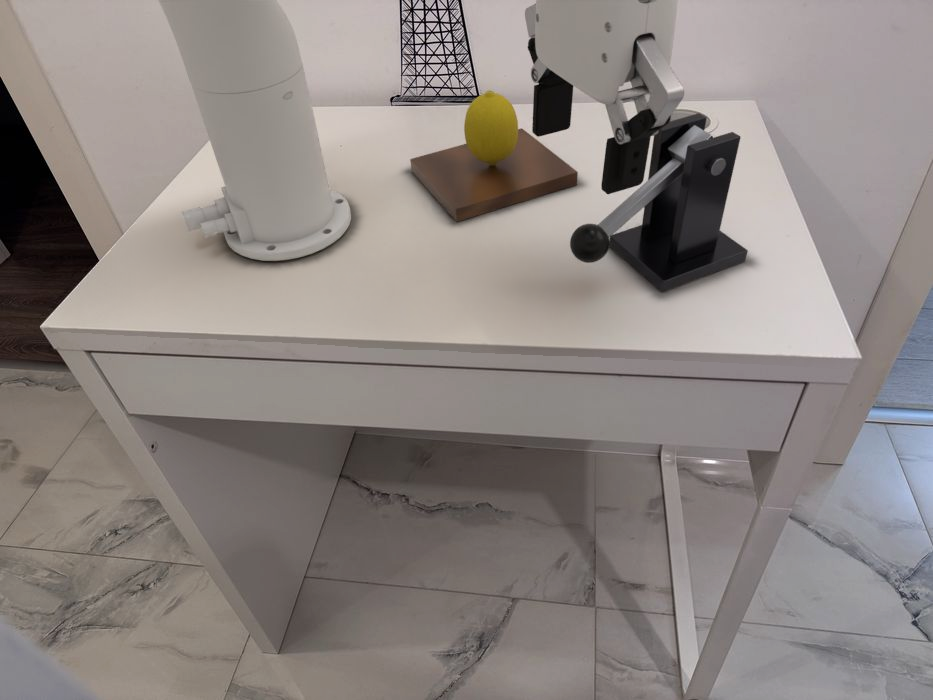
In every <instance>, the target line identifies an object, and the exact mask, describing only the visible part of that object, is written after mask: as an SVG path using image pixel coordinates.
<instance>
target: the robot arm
mask: <svg viewBox="0 0 933 700" xmlns="http://www.w3.org/2000/svg"><path fill="white" fill-rule="evenodd" d="M158 3H159V4H160V6H161V9H162V11H163V13H164V15H165V18H166V20H167V22H168V25H169V27H170V29H171V32H172V35H173V37H174V40H175V43H176V46H177V48H178V51H179V53H180V56H181V60H182V61H183V62H182V63H183V66H184V68H185V71H186V74H187V77H188V80H189V83H190V85H191V87H192V90H193V94H194V97H195V100H196V103H197V107H198V108H199V112H200V115H201V118H202V121H203V124H204V127H205V129H206V133H207V136H208V139H209V141H210V145H211V147H212V148H211V149H212V151H213V154H214V157H215V160H216V163H217V166H218V169H219V171H220V174H221V177H222V181H223V184H224V186H222V187H221V188H220V189H221V192H222V195H223V197H220V198H217V199H214V201H213V202H214V203H213V204H210V205H209V204H208V205H205V206H199V207H195V208H191V209H187V210H183V211H181V213H182V216H183V219H184V221H185V224H186V227H187V229H188V231H189V232H192V231H196V230H199V229H201V230H202V233H203V237H204V239H206V238H209V237H213V236H217V235H219V234H220V233H223V235H224V238H225V241H226V243H227V245H228V247H229V248H230V249H231V250H232V251H233V252H234V253H236V254H238V255H240V256H242V257H246V258H248V259H251V260H257V261H264V262H267V261H268V262H278V261H288V260H294V259H298V258H302V257H305V256H309V255H312V254H314V253H317V252H319V251H322V250H324V249H326V248H327V247H329V246H330V245H332V244H334V243H335V242H336V241H337V240H339V239H340V238H341V237H342V236H343V235H344V234H345V232H346V231H347V230H348V228H349V226H350V224H351V221H352V213H351V207H350V204H349V202H348V200H347V199H346V197H345V196H344V195H342V193H339V191H336V190H334V189H332V188H330V183H329V178H328V174H327V169H326V164H325V161H324V160H325V159H324V156H323V152H322V147H321V141H320V138H319V132H318V127H317V123H316V118H315V114H314V110H313V106H312V100H311V97H310V91H309V86H308V82H307V77H306V73H305V69H304V64H303V61H302V57H301V52H300V47H299V43H298V39H297V36H296V34H295V31H294V28H293V25H292V24H291V21H290V20H289V19H290V18H289V17H288V16H287V14H286V12H285V10H284V9H283V7H282V6H281V4H280V3H279V2H278V0H158ZM677 11H678V0H536V1H535V3H534V4H532V5H530V6H528V7H526V8H525V10H524V18H525V23H526V24H525V25H526V30H527V34H528V42H527V51H528V52H529V56H530V58H531V61H532V64H533V65H532V67H531V68H530V78H531V81H532V82H533V103H532V104H533V105H532V109H533V110H532V128H531V129H532V131H531V133H532V134H534V135H535V136H536V137H538V138H539V137H543V136H548V135H551V134H555V133H558V132H562V131H566V130H568V129H570V127H571V122H572V108H573V98H574V97H573V95H574V87H575V88H576V89H578V90H579V91H580V92H582V93H584V95H586V96H588V97H589V98H591V99H593V100H595V101H596V102H598V103H600V104H602V105H605V109H606V112H607V116H608V119H609V123H610V126H611V127H610V128H611V130H612V134H613V137H610V138H607V139H606V143H605V152H604V160H603V168H602V176H601V187H600V188H601V190H602V191H603V192H604V193H605V194H607V195H611V194H614V193H618V192H622V191H624V190H628V189H631V188H634V187H638V186H640V185H642V183H643V182H644V179H645V172H646V168H647V161H648V155H649V148H650V144H651V137H654V135H656V134H658V132H659V130H660V129H661V128H663V127H664V126H665V125H667V124H668V123H669V122H670V121H671V120H672V119H671V118H672V115H673V114H674V112H675V111H676V110H677V108H678V107H679V105H680V104H681V102H682V100H683V99H684V96H685V89H684V86H683V84H682V83H681V81H680V79H679V78H678V76H677V74H675V72H674V70H673V69H672V67H671V60H672V54H673V47H674V40H675V39H674V38H675V30H676V21H677ZM629 82H630V84H631V88H626V89H622V90H619V89H620V87H624V84H627V83H629ZM630 102H634V105H635V109H636V114H635V115H634V116H632V117H631V118H630V119H628V116H627V113H626V108H625V105H624V104H627V103H630Z"/></svg>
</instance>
